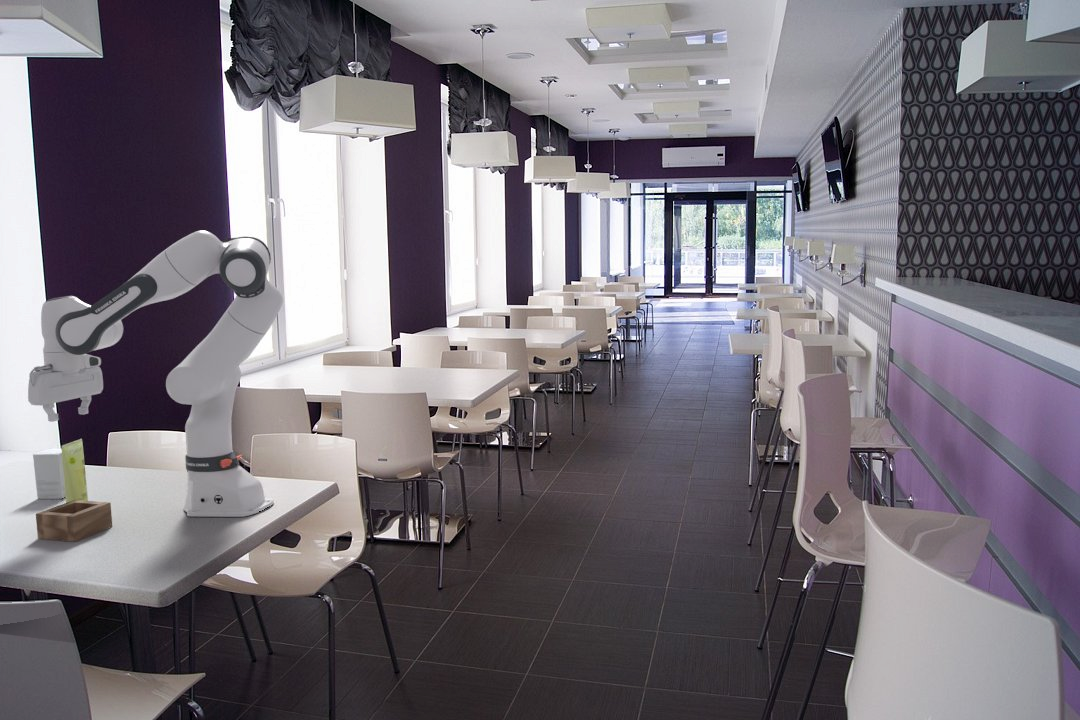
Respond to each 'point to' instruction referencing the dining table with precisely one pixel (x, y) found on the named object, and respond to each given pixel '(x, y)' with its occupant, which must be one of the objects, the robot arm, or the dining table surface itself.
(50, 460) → the supplement box
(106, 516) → the wooden box
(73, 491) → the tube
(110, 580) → the dining table surface
